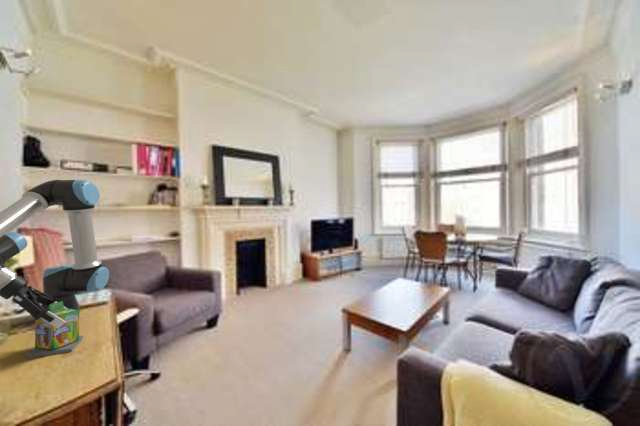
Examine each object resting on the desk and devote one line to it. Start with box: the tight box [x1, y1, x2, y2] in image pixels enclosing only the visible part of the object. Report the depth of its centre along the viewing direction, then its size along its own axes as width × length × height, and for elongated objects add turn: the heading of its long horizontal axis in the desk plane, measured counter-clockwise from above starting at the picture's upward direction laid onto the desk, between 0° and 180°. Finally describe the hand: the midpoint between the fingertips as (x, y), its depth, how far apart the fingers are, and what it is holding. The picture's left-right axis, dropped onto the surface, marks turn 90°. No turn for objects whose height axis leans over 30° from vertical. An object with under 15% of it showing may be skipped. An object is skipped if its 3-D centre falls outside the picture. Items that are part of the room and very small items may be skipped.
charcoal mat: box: [26, 335, 84, 359], centre depth 108 cm, size 12×12×1 cm
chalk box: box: [34, 301, 80, 350], centre depth 108 cm, size 9×9×15 cm
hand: (65, 319), depth 109 cm, fingers open, 13 cm apart
